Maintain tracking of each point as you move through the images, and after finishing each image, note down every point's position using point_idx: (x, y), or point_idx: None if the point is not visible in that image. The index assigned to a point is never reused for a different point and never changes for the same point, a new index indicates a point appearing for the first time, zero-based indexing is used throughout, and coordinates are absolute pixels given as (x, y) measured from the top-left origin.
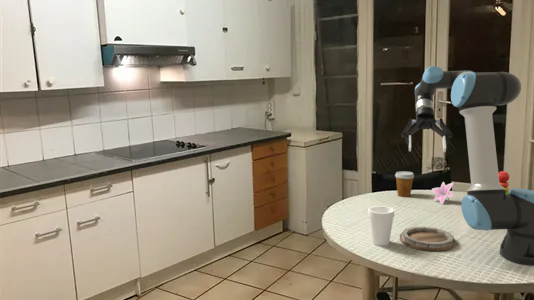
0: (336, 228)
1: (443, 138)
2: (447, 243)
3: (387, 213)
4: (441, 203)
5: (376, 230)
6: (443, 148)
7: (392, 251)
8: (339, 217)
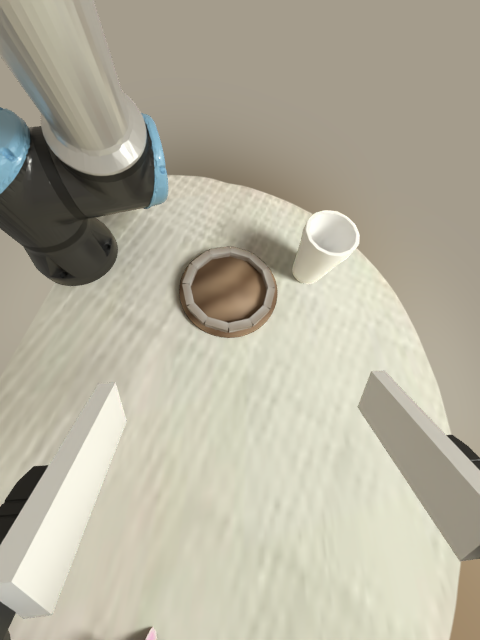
0: (394, 323)
1: (48, 510)
2: (198, 258)
3: (316, 213)
4: (154, 636)
5: (321, 241)
6: (113, 437)
7: (283, 241)
8: (413, 395)
